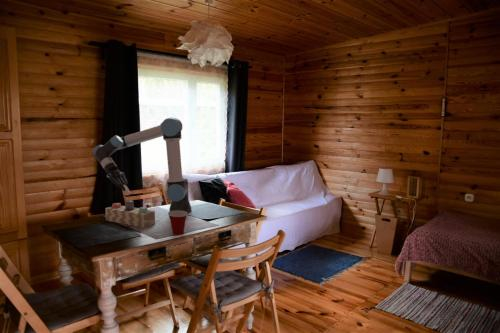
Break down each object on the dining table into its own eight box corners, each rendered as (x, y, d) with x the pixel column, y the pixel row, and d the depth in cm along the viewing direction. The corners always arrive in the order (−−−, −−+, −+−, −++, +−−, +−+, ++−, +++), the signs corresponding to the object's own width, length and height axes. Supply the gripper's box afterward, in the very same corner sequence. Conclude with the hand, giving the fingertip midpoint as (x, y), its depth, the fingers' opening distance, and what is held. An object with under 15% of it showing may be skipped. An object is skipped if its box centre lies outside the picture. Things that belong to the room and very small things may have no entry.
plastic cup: (177, 237, 199) (177, 215, 198) (164, 234, 206) (163, 213, 204) (192, 232, 208) (191, 211, 206) (179, 229, 214) (178, 209, 213)
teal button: (137, 216, 225) (137, 208, 224) (143, 214, 229) (143, 206, 228) (143, 217, 222) (143, 209, 222) (149, 215, 226) (149, 207, 226)
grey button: (123, 209, 230) (123, 201, 230) (129, 207, 235) (129, 200, 234) (129, 210, 228) (128, 202, 227) (135, 208, 232) (135, 200, 232)
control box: (106, 220, 236) (105, 208, 235) (118, 217, 245) (118, 205, 244) (143, 227, 220) (142, 214, 219) (155, 223, 228) (154, 210, 227)
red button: (110, 212, 237) (110, 204, 236) (117, 210, 241) (116, 202, 241) (116, 212, 234) (115, 205, 234) (122, 211, 239) (122, 203, 238)
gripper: (115, 168, 244) (134, 196, 237) (98, 170, 233) (117, 199, 226) (120, 161, 241) (139, 188, 234) (103, 162, 229) (123, 191, 223)
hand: (128, 194), depth 230 cm, fingers closed
